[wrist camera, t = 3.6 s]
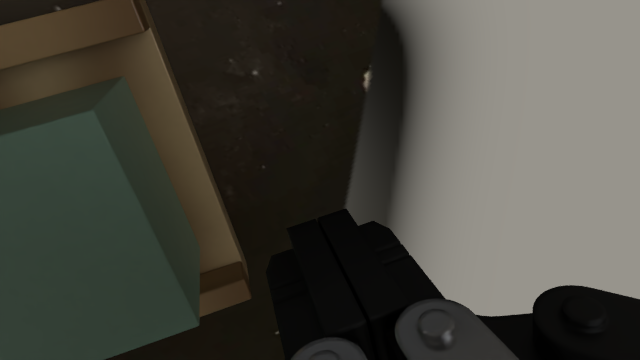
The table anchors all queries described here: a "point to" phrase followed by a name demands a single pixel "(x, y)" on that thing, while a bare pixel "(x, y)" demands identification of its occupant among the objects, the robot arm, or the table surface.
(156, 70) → the tray
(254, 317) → the table surface
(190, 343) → the table surface
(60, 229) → the green rectangular block
